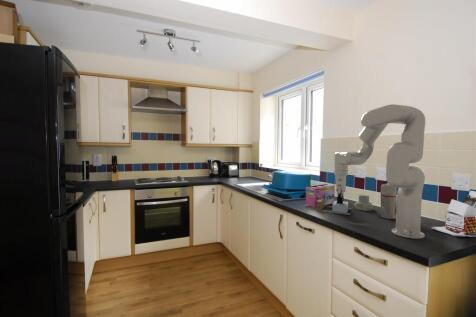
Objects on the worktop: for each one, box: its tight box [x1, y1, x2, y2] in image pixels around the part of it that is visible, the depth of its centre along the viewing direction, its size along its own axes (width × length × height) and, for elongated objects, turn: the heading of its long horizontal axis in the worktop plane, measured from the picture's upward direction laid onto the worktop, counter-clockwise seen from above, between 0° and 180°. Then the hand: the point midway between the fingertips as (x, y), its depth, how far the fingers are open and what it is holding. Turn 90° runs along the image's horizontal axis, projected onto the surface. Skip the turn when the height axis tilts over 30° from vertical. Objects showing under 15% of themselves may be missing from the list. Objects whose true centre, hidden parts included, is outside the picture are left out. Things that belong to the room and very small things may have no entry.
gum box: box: [305, 183, 336, 208], centre depth 176 cm, size 24×8×14 cm, turn 126°
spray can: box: [380, 182, 398, 220], centre depth 146 cm, size 8×8×20 cm
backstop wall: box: [315, 197, 325, 213], centre depth 161 cm, size 15×2×6 cm, turn 153°
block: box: [331, 200, 349, 213], centre depth 156 cm, size 12×8×5 cm, turn 153°
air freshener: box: [353, 194, 374, 212], centre depth 162 cm, size 11×8×10 cm
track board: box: [321, 205, 353, 216], centre depth 158 cm, size 15×19×2 cm
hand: (340, 202), depth 153 cm, fingers open, 5 cm apart
